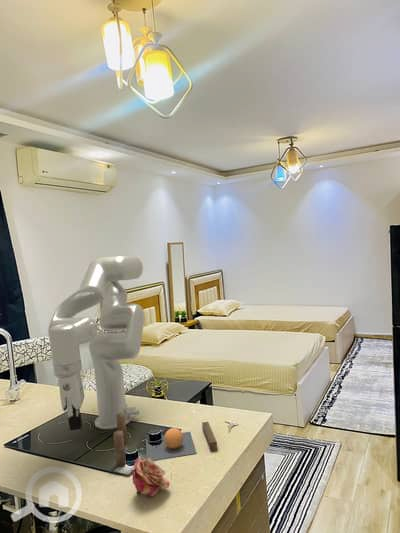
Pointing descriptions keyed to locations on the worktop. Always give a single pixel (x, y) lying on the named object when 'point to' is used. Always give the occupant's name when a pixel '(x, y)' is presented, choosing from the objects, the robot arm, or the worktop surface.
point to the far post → (121, 425)
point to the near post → (119, 448)
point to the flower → (148, 477)
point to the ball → (173, 438)
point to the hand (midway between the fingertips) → (76, 428)
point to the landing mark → (166, 452)
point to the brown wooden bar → (209, 436)
